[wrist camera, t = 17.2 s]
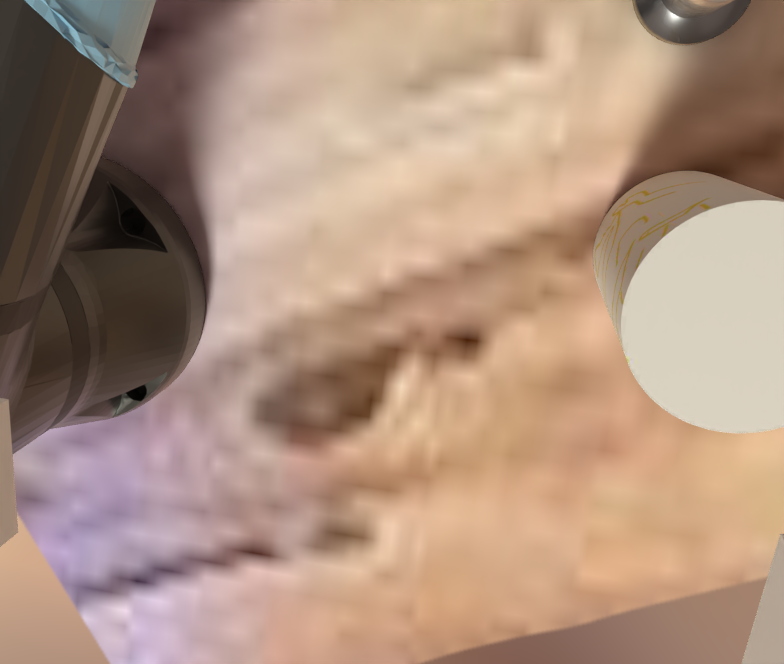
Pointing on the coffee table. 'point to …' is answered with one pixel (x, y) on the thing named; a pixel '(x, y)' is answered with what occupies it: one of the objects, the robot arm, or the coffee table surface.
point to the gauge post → (688, 18)
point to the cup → (699, 297)
